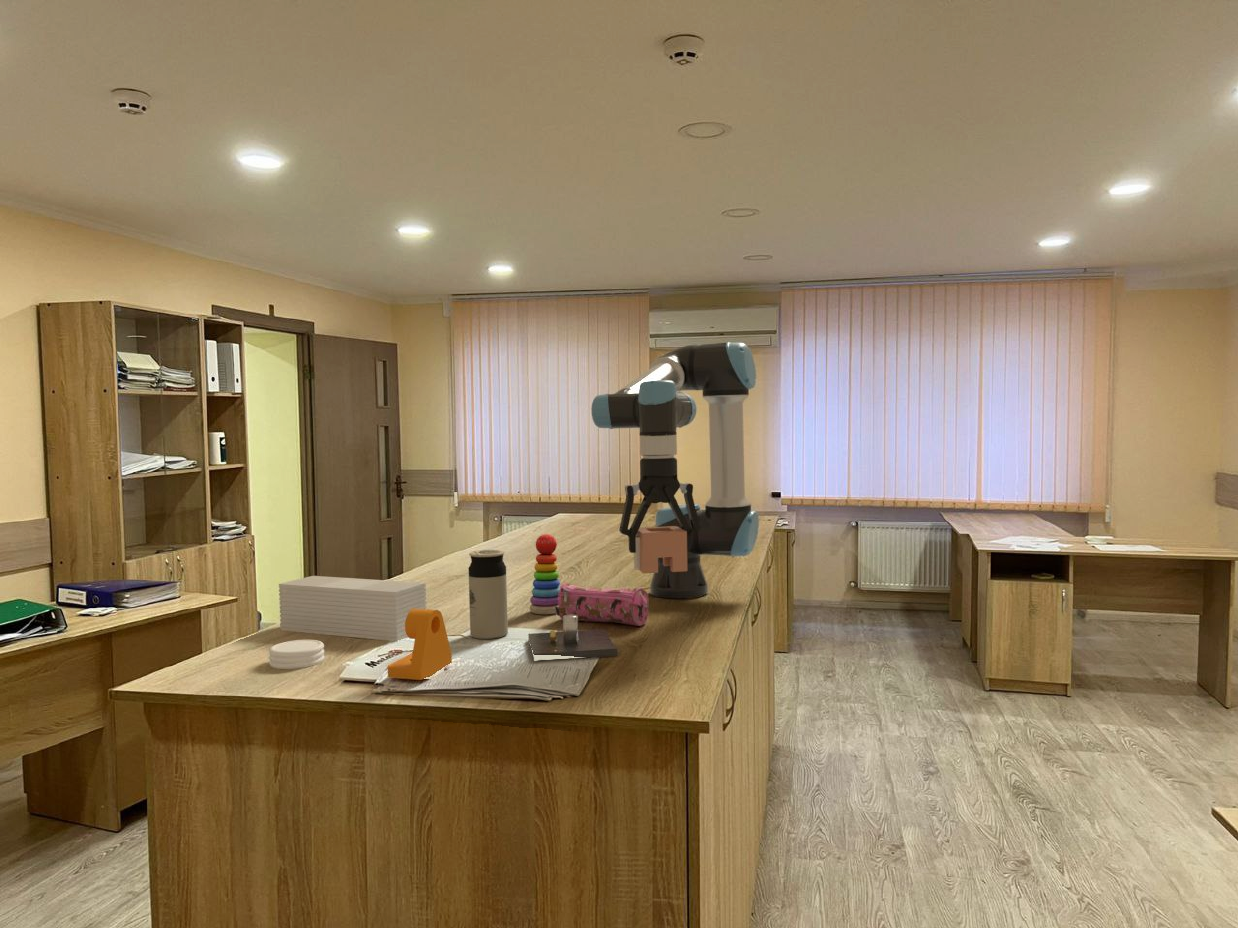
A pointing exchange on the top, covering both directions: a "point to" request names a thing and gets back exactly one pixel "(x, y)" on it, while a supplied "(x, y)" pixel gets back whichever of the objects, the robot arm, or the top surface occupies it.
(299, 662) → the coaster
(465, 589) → the top surface
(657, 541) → the hollow square tube
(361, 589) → the stack of papers
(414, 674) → the bracket
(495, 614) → the travel mug
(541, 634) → the post plate
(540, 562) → the stacking toy
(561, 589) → the pencil case
